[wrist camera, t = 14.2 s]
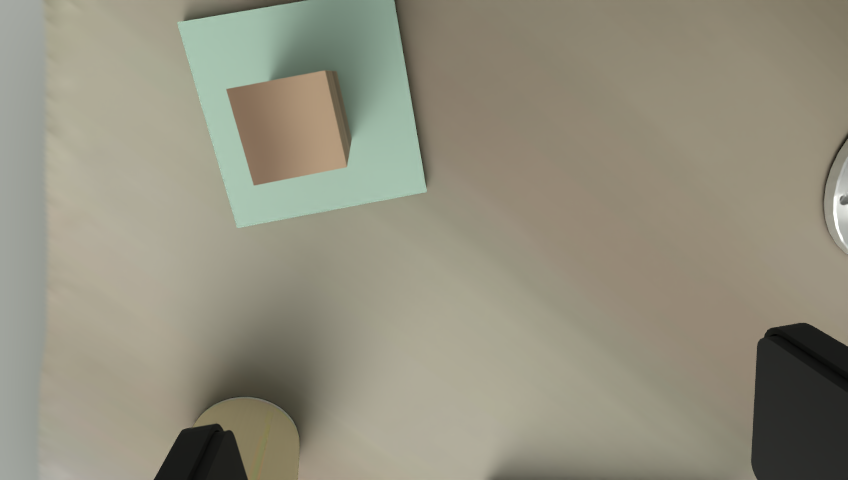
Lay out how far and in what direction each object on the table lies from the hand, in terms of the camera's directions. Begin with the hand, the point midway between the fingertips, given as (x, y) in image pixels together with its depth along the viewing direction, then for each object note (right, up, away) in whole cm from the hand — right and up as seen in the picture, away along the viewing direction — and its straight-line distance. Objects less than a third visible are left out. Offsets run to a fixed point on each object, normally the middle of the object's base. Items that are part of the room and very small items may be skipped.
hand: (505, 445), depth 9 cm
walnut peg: (-8, +11, +22) cm, 26 cm away
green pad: (-8, +11, +23) cm, 27 cm away
